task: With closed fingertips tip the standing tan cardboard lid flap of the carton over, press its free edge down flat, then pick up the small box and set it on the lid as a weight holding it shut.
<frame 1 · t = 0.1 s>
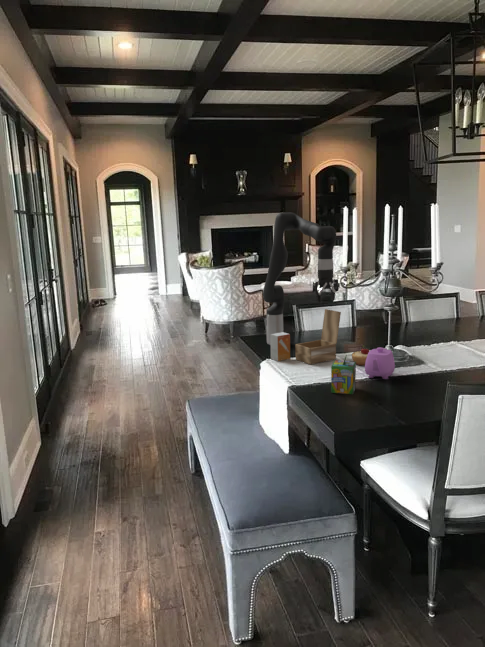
hand: (325, 301, 258), 29 cm above the table, fingers open, 8 cm apart
teapot: (379, 376, 233), on the table
lid: (330, 326, 266), point 16 cm above the table, hinge at 100.0°
small box: (280, 359, 268), on the table
chalk box: (343, 391, 216), on the table
pastry: (364, 364, 254), on the table
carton: (315, 359, 264), on the table
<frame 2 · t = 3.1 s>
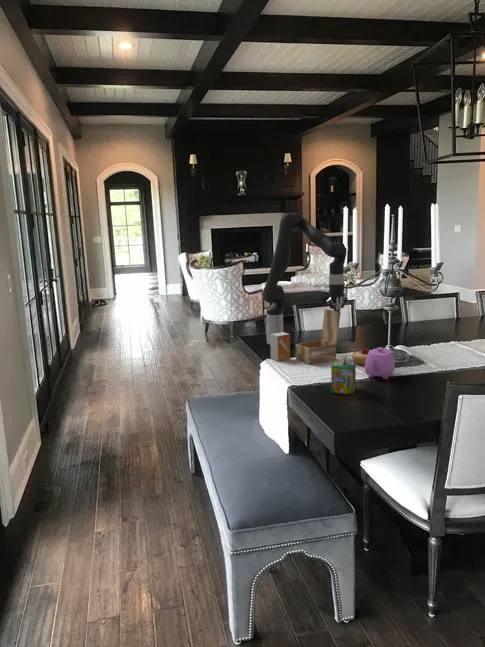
hand: (337, 316, 267), 20 cm above the table, fingers closed
lid: (330, 326, 266), point 16 cm above the table, hinge at 99.5°, touching gripper
everything else where it was.
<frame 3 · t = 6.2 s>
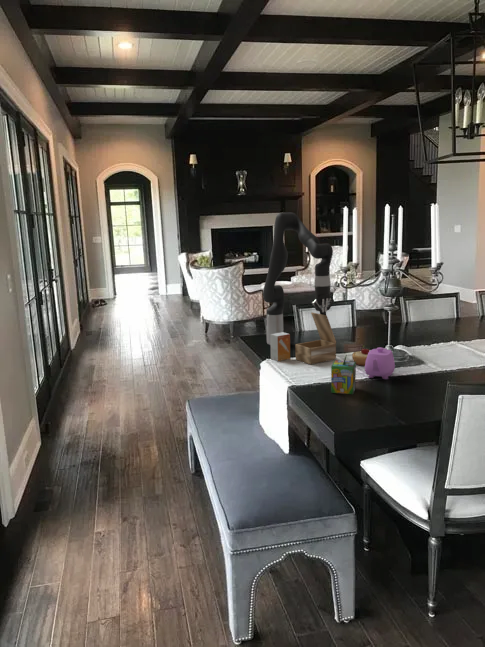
hand: (323, 319, 263), 20 cm above the table, fingers closed
lid: (323, 327, 264), point 16 cm above the table, hinge at 67.4°, touching gripper
everything else where it was.
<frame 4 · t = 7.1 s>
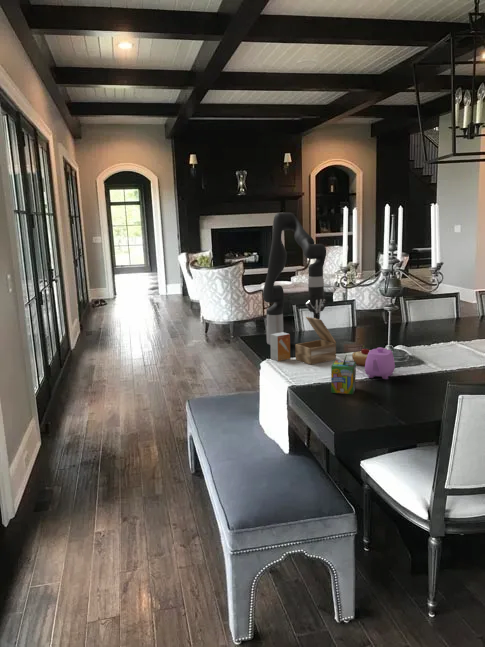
hand: (316, 320, 261), 20 cm above the table, fingers closed
lid: (321, 329, 263), point 15 cm above the table, hinge at 53.6°, touching gripper
everything else where it was.
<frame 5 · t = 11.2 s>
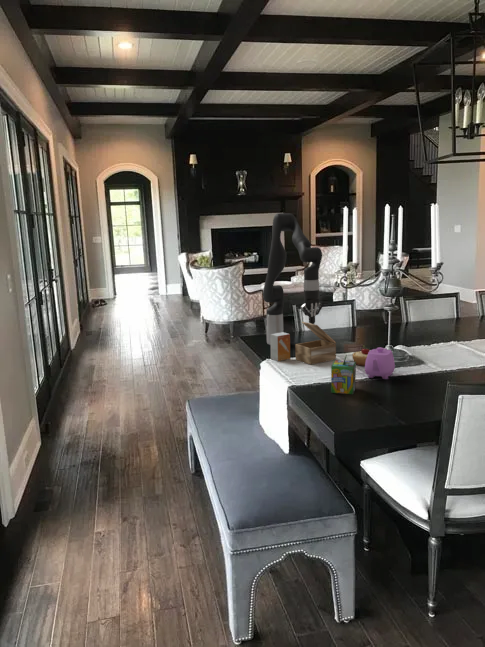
hand: (312, 323, 260), 18 cm above the table, fingers closed
lid: (319, 332, 263), point 14 cm above the table, hinge at 41.3°, touching gripper
everything else where it was.
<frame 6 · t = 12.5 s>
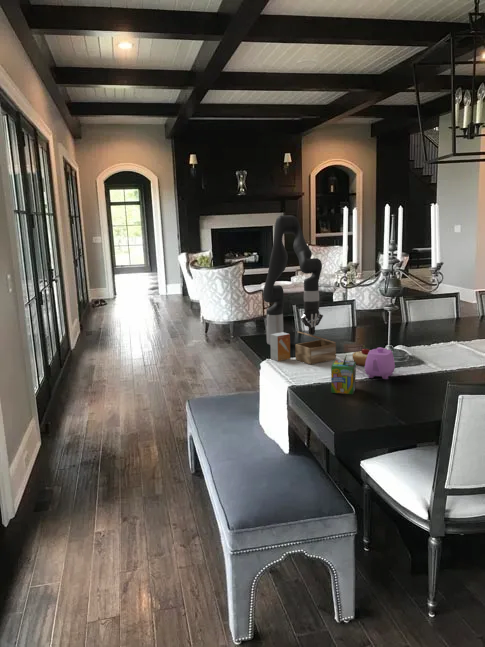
hand: (311, 334, 260), 13 cm above the table, fingers closed
lid: (316, 337, 262), point 11 cm above the table, hinge at 21.6°, touching gripper
everything else where it was.
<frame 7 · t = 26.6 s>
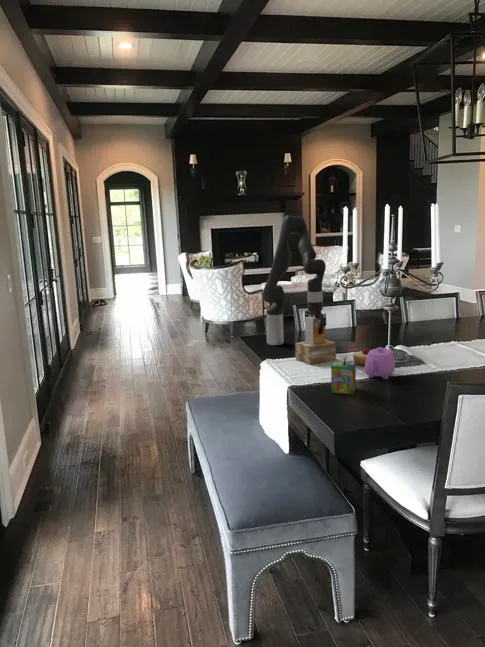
hand: (315, 332, 261), 14 cm above the table, fingers open, 8 cm apart
lid: (315, 343, 262), point 8 cm above the table, hinge at -0.1°, touching small box
small box: (315, 342, 262), point 9 cm above the table, touching lid
everything else where it was.
at the end: lid at +0° (first picture: +100°); small box inside the target area on the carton (0.1 cm from its centre), point 8.6 cm above the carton's base; small box tilted 0° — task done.
